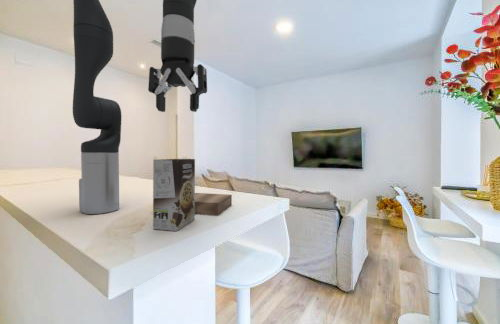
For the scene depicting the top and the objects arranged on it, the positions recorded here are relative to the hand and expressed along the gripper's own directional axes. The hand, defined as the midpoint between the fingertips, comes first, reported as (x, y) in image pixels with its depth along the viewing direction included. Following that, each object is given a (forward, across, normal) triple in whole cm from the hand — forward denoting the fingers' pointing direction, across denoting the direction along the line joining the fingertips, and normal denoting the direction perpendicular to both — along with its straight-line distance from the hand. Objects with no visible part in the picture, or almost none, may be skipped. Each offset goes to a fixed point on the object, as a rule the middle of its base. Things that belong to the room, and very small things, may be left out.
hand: (177, 111), depth 53 cm
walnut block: (+28, +1, +16) cm, 32 cm away
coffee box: (+28, 0, 0) cm, 28 cm away
